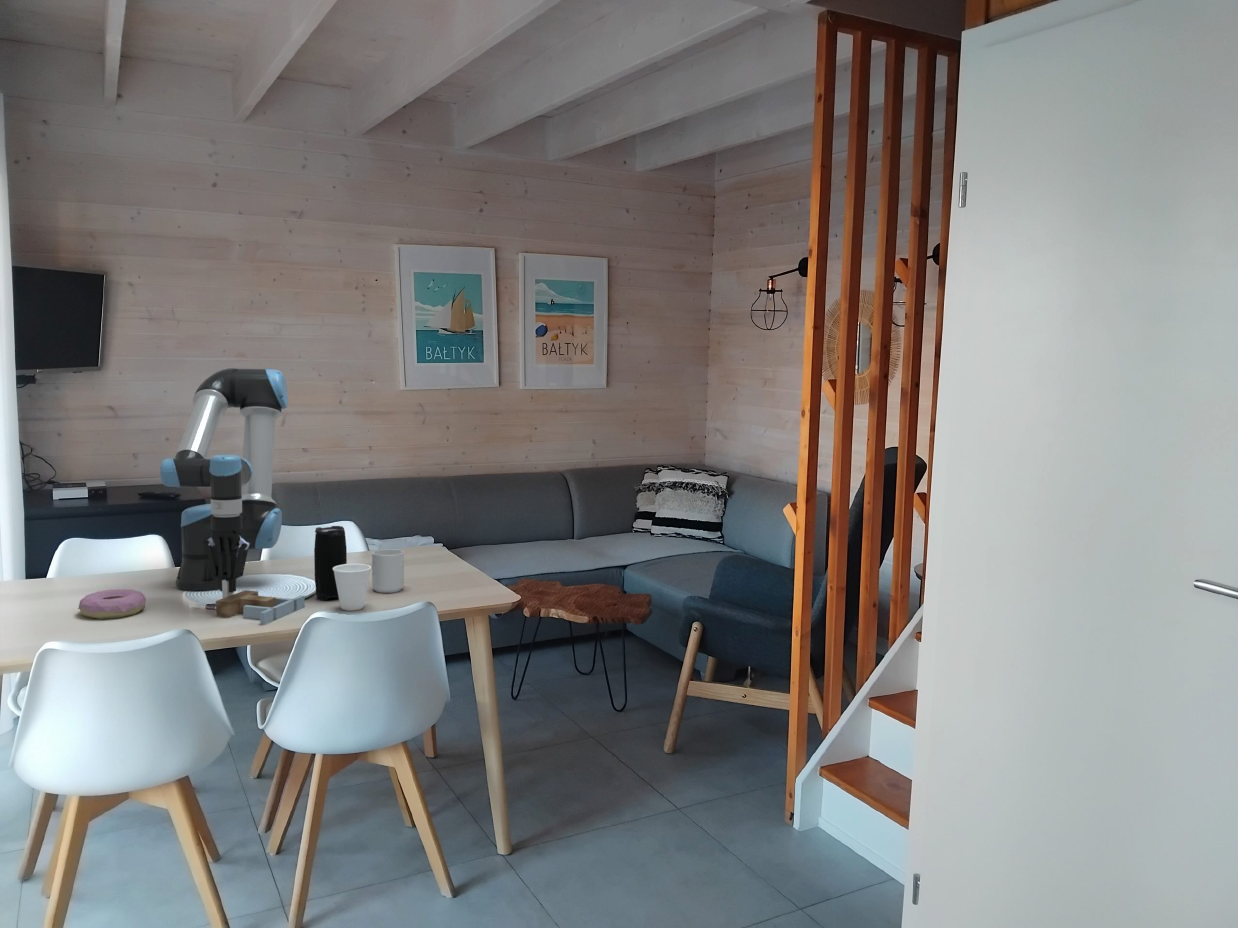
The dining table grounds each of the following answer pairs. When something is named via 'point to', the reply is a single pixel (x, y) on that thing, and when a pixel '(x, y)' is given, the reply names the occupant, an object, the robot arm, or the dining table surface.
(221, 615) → the t block
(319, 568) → the portable speaker
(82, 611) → the donut
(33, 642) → the dining table surface
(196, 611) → the dining table surface
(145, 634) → the dining table surface
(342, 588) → the cup
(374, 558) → the mug
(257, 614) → the slot jig
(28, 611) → the dining table surface
